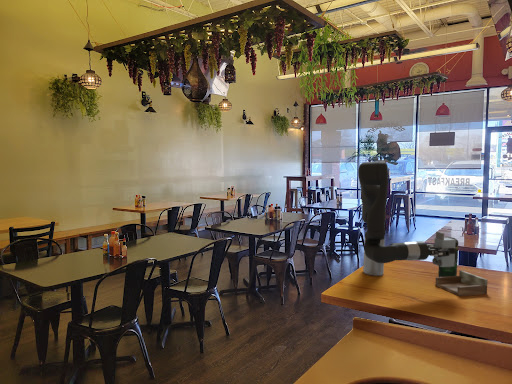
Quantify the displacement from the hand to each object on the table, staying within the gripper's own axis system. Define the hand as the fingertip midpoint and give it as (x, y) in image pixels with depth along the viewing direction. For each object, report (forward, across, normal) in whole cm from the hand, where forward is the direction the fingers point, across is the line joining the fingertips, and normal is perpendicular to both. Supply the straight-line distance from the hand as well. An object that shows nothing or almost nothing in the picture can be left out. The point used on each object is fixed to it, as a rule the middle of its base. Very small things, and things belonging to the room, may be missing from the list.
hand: (450, 249), depth 163 cm
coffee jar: (+15, +20, +18) cm, 31 cm away
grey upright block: (-3, 0, +6) cm, 7 cm away
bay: (+7, +1, +18) cm, 19 cm away
